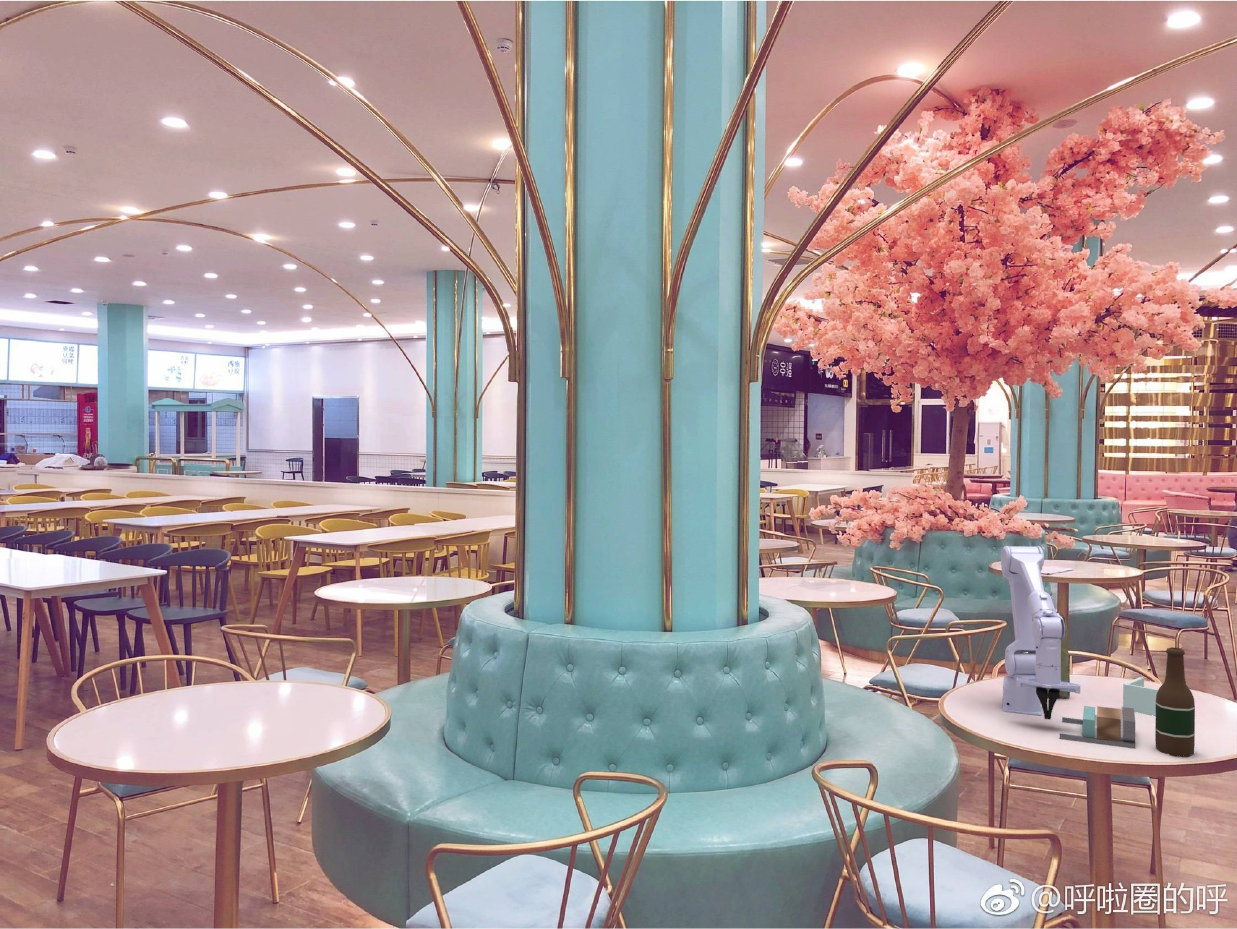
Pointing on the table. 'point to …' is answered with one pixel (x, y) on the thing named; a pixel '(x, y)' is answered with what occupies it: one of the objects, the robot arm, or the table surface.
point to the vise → (1126, 739)
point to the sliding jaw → (1089, 722)
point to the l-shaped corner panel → (1139, 697)
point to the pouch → (1064, 659)
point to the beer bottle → (1175, 709)
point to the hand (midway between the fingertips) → (1047, 718)
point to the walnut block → (1108, 723)
